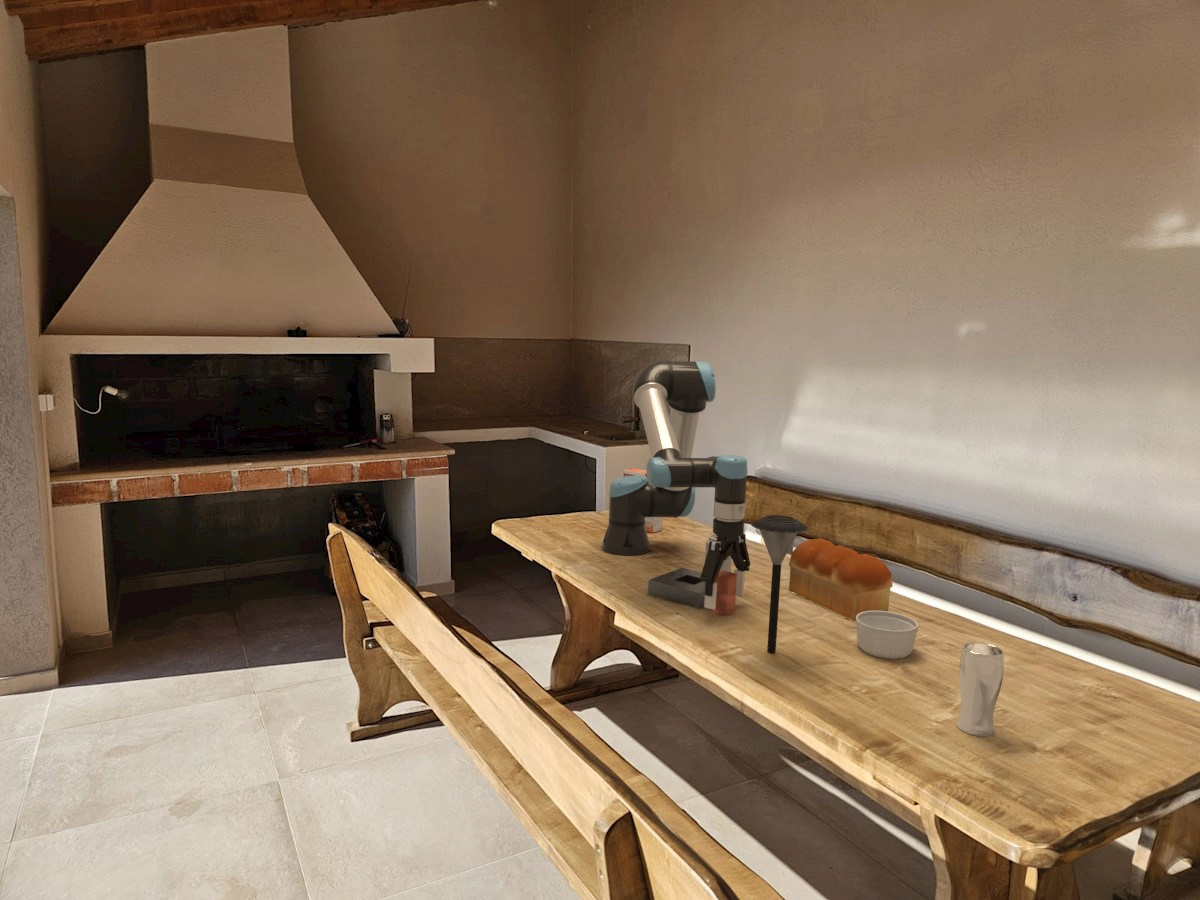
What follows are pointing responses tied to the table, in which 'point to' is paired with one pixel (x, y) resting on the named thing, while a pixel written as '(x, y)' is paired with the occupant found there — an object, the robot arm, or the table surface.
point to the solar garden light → (777, 559)
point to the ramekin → (886, 634)
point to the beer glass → (979, 687)
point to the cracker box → (650, 522)
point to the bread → (839, 578)
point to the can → (727, 563)
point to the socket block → (679, 587)
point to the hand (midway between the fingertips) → (724, 601)
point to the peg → (725, 593)
